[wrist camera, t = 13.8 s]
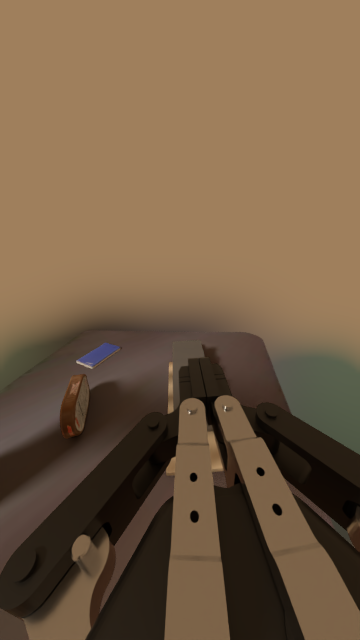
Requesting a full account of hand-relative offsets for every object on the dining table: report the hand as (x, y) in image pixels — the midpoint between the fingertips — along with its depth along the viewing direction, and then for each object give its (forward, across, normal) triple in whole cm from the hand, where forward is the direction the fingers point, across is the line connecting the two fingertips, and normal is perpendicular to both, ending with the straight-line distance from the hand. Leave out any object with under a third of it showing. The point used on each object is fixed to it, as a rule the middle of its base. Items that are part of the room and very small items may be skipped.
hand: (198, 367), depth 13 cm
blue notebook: (+45, -30, -29) cm, 62 cm away
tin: (+21, -26, -28) cm, 44 cm away
